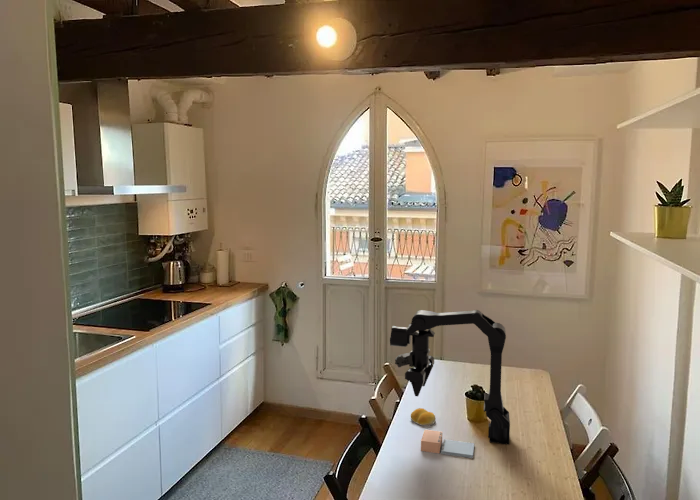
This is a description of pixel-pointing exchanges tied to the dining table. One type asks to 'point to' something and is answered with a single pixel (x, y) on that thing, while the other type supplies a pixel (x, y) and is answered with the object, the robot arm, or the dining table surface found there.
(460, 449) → the blue-grey flat panel
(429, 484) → the dining table surface
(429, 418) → the bread roll
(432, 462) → the dining table surface
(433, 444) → the stub
